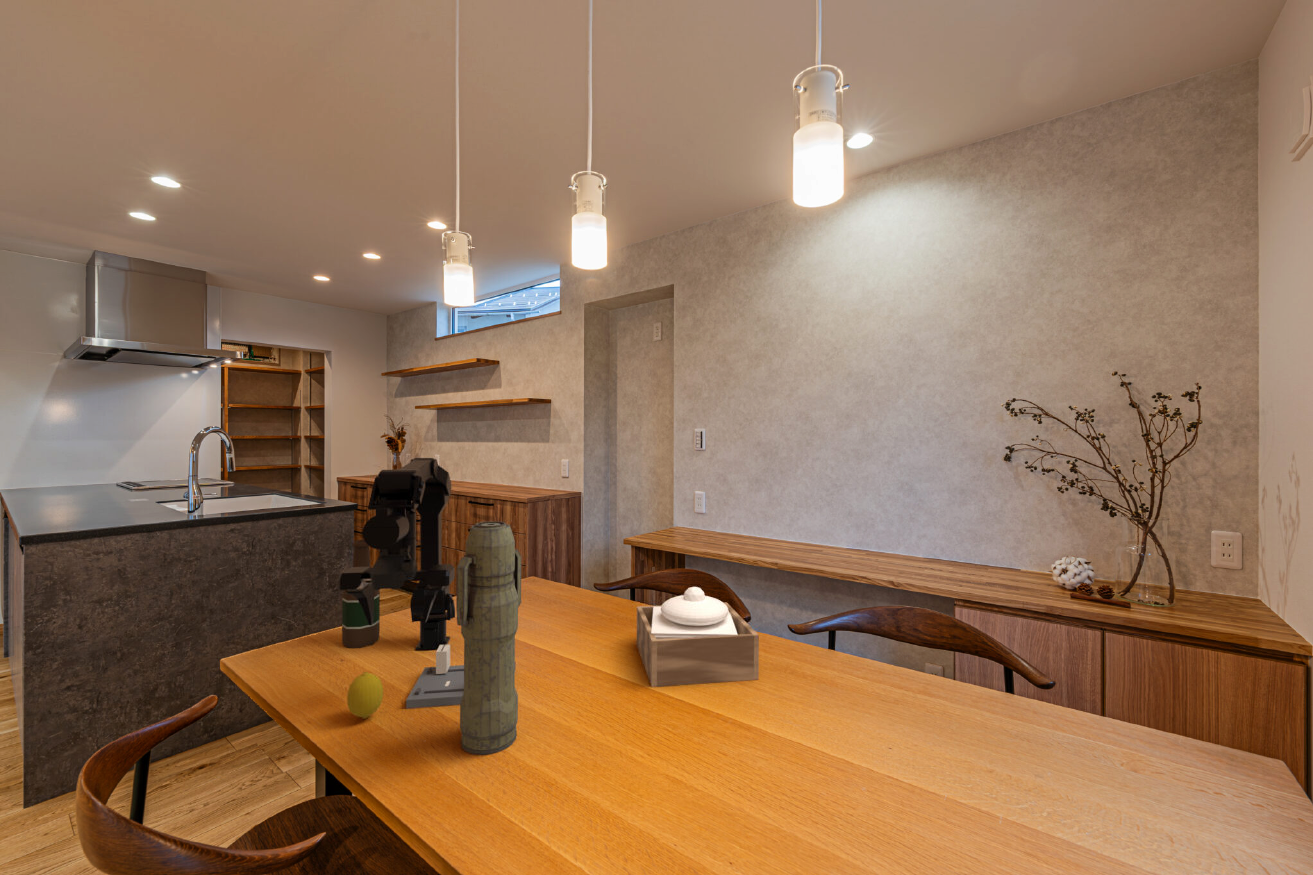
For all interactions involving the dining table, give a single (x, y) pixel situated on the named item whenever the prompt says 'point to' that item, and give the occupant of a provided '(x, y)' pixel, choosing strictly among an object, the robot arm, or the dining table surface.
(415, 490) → the robot arm
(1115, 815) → the dining table surface
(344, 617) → the beer bottle
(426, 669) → the console
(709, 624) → the butter dish
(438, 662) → the fader
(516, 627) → the thermos
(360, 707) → the lemon
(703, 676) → the dish corral
